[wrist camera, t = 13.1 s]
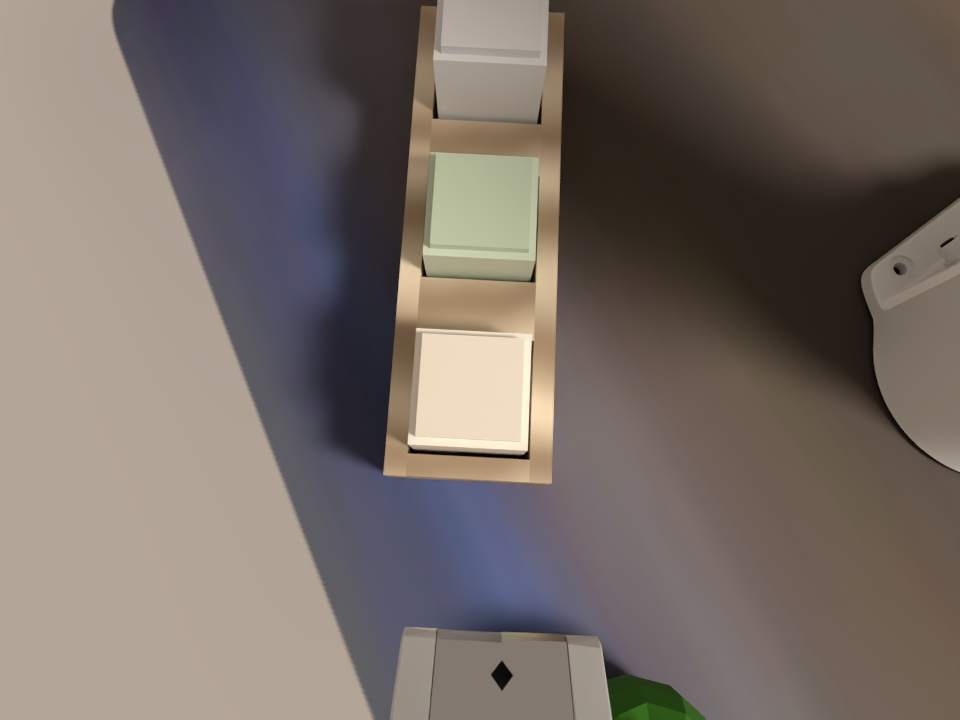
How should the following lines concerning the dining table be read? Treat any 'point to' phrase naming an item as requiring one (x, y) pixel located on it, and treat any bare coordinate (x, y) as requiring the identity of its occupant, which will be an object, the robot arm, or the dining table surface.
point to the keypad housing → (479, 299)
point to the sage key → (481, 217)
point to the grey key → (490, 59)
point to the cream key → (470, 393)
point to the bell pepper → (647, 700)
